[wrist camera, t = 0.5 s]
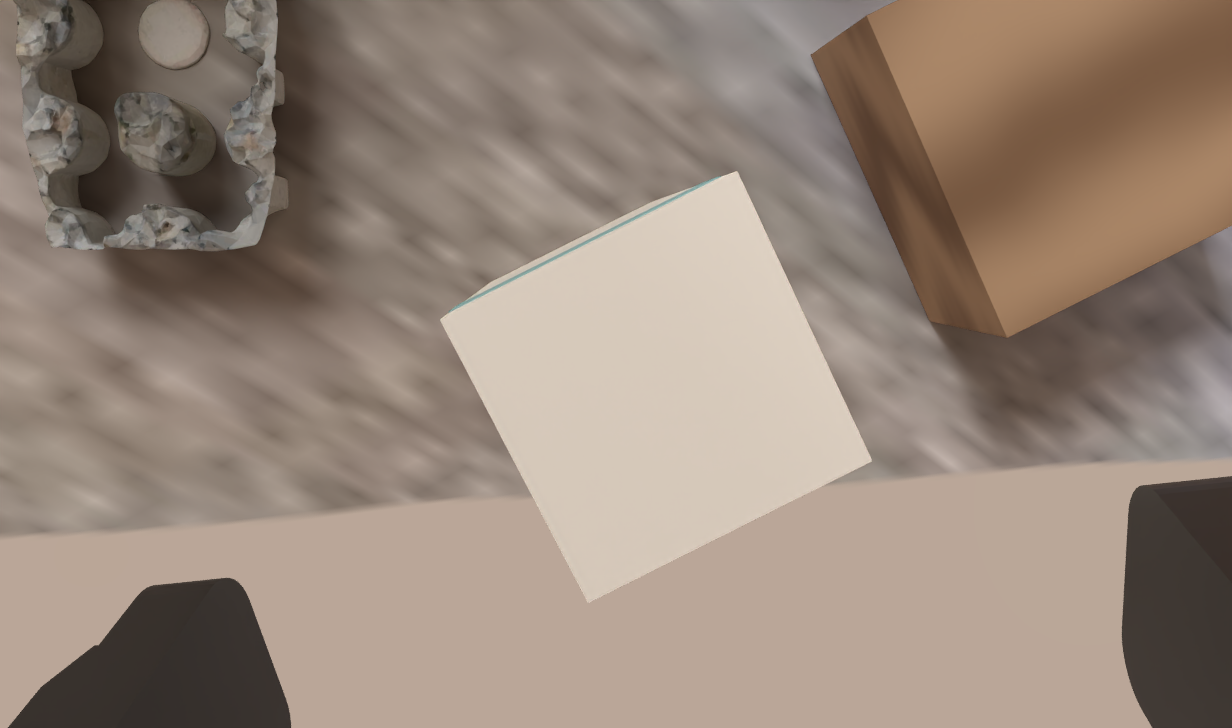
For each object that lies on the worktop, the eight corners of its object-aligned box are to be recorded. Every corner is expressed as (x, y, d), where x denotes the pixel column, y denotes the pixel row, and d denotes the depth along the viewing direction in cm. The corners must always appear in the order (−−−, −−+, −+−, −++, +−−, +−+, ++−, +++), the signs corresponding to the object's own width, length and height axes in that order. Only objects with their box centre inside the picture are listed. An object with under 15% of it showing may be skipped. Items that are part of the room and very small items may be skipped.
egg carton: (63, -91, 32) (-8, -140, 28) (304, -72, 33) (268, -117, 28) (64, 246, 33) (-4, 246, 29) (296, 259, 34) (261, 261, 30)
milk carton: (490, 281, 34) (438, 319, 18) (650, 201, 34) (737, 168, 18) (570, 437, 35) (587, 604, 19) (726, 359, 35) (873, 461, 19)
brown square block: (810, 54, 34) (866, 15, 28) (1077, -78, 34) (1189, -146, 28) (929, 321, 35) (1007, 337, 29) (1185, 193, 35) (1314, 183, 29)
